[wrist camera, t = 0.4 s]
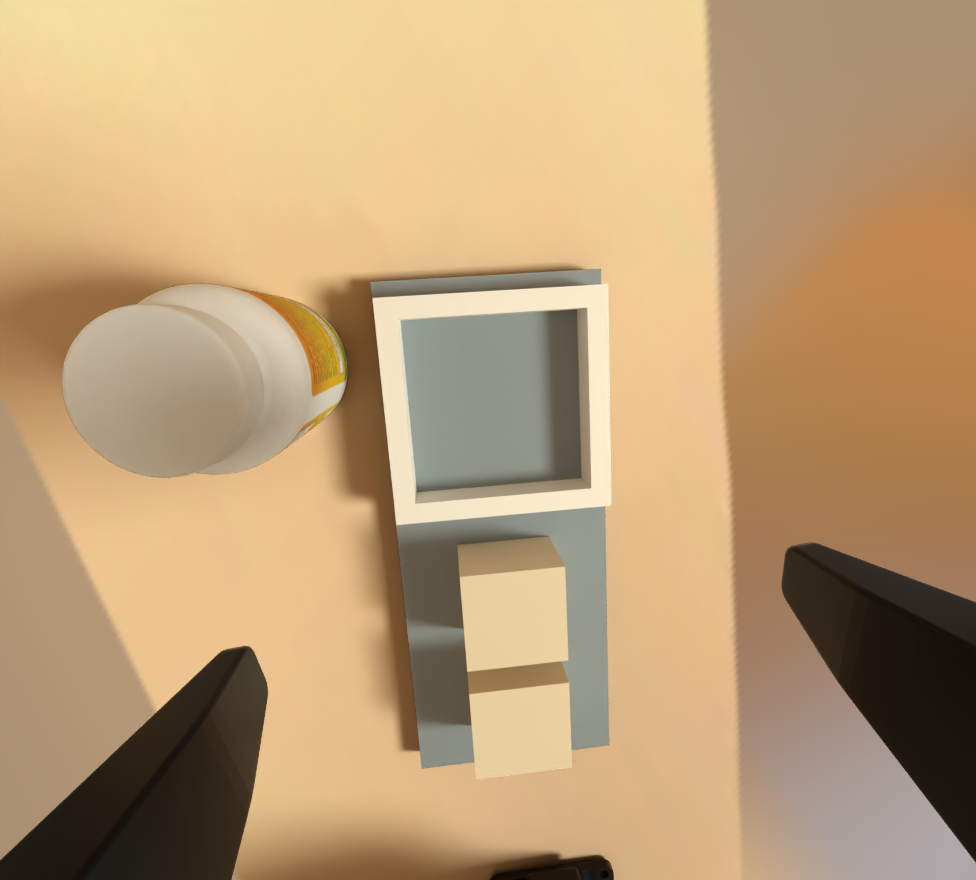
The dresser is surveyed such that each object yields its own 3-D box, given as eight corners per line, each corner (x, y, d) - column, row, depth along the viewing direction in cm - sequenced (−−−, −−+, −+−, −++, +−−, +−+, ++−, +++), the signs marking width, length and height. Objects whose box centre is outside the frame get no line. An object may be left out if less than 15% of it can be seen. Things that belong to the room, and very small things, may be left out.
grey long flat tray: (602, 729, 26) (631, 799, 22) (422, 751, 25) (419, 828, 21) (593, 271, 21) (627, 258, 18) (373, 284, 21) (357, 273, 17)
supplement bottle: (235, 276, 20) (54, 227, 11) (367, 328, 21) (307, 324, 12) (197, 404, 21) (-2, 462, 12) (325, 449, 22) (238, 538, 12)
